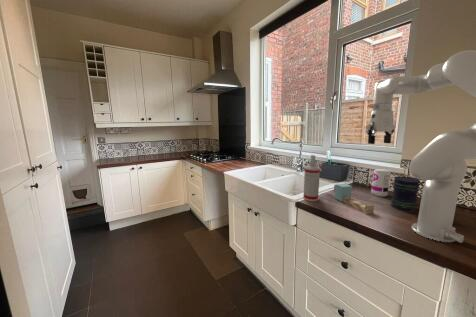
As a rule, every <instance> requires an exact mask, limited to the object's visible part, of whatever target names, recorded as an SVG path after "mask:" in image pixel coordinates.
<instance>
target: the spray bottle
mask: <svg viewBox="0 0 476 317" xmlns="http://www.w3.org/2000/svg"><path fill="white" fill-rule="evenodd" d="M320 172H321V167H319V166H318V165H317V161H316V155H314V154H310V160H309V164H308V165H306V166H304V178H303V179H304V180H303V182H304V183H303V197H302V198H303V200H305V201H308V202H318V200H319V193H320V192H319V189H320V175H321V173H320Z"/></svg>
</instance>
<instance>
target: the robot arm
mask: <svg viewBox="0 0 476 317" xmlns="http://www.w3.org/2000/svg"><path fill="white" fill-rule="evenodd" d="M451 86H457V87H458V88H460V89H462V90H463V91H465V92H466V93H468V94H469V95H471V96H472V97H475V98H476V50H474V49H469V50H467V49H466V50H462V51H459V52H457V53H454V54H453V55H451V56H450V57H449V58H447V59H446V61H445V62H441V63H437V64H433V66H431V67H430V68H429V70H428V71H427V73H426V74H420V75H417V76H410V75H409V76H408V75H407V76H406V75H394V76H391V77H389V78H387V79H384V80H379V81H376V82H375V84H374V90H373V92H374V93H373V102H372V104H373V105H372V111H371V113H370V117H369V124H367V125H366V126H365V127H364V128H365V132H366V133H367V136H368V138H367V144H369V145H375V143H376V135H375V134H376V133H377V132H379V133H381V132H382V133H384V136H383V143H384V144H391V142H392V135H393V133H394V132H395V129H396V127H397V126H396V125H395V124H394V119H395V118H394V117H395V116H394V111H393V99H394V95H406V96H408V95H417V94H421V93H427V92H431V91H435V90H437V89H441V88H447V87H451ZM475 159H476V122H475V123H473V124H472V125H471V126H469V127H467V128H466V129H460V130H459V129H455V130H449V131H446V132H443V133H441V134H439V135H437V136H436V137H435V138H433V139H432V140H431V141H429V143H428V144H427V145H426V146H424V147H423V148H421V150H420V151H419V152H418V153H417V154H415V155H414V157H413V158H412V159H411V160H410V163H409V166H408V168H409V173H410V174H411V175H412V176H413V178H415V179H418V180H420V181H421V180H422V181H424V183H423V185H422V187H423V188H422V191H421V192H422V193H421V197H420V203H419V204H420V205H419V210H418V216H417V217H418V218H417V222H415V223H412V224H411V227H410V228H411V231H413V232H414V233H415V232H416V233H415V234H417V235H419V236H422V237H423V238H426V239H428V238H429V239H428V240H432V239H433V240H432V241H435V240H436V242H440V241H441V242H442V243H453V242H458V243H460V244H462V243H464V238H465V235H463V234H460V233H457V232H456V227H454V226H453V224H454V218H455V214H456V208H457V203H458V198H459V193H460V189H461V186H462V183H463V180H464V179H465V176H466V174H467V171H468V164H467V162H466V160H475Z"/></svg>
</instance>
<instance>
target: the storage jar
mask: <svg viewBox="0 0 476 317" xmlns="http://www.w3.org/2000/svg"><path fill="white" fill-rule="evenodd" d="M420 181H421V180H420V179H418V178H416V177H409V176H399V175H398V176H394V178H393V184H392V187H393V190H392V195H391V200H390V201H391V202H390V203H391V204H390V207H391V208H393V209H395V210H398V211H402V212H406V213H407V212H411V213H412V212H415V211H416V207H417V202H418V201H417V195H418V192H419V188H420Z"/></svg>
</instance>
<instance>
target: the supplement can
mask: <svg viewBox="0 0 476 317" xmlns="http://www.w3.org/2000/svg"><path fill="white" fill-rule="evenodd" d="M390 179H391V171H390V170H389V169H386V168H375V169H374V170H373V173H372V181H371V182H372V183H371V188H370V189H371V191H370V192H371V194H372V195H374V196H376V197H387V196H388V195H389V187H390V181H391V180H390Z"/></svg>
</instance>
